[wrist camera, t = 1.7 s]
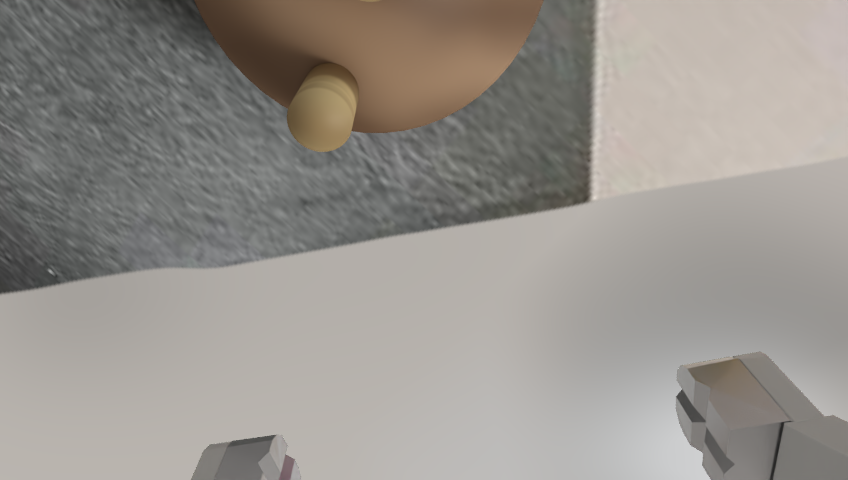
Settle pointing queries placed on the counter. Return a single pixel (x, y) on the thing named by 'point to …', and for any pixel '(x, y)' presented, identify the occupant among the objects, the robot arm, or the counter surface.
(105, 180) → the counter surface
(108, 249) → the counter surface
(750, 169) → the counter surface
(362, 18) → the handwheel
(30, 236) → the counter surface
